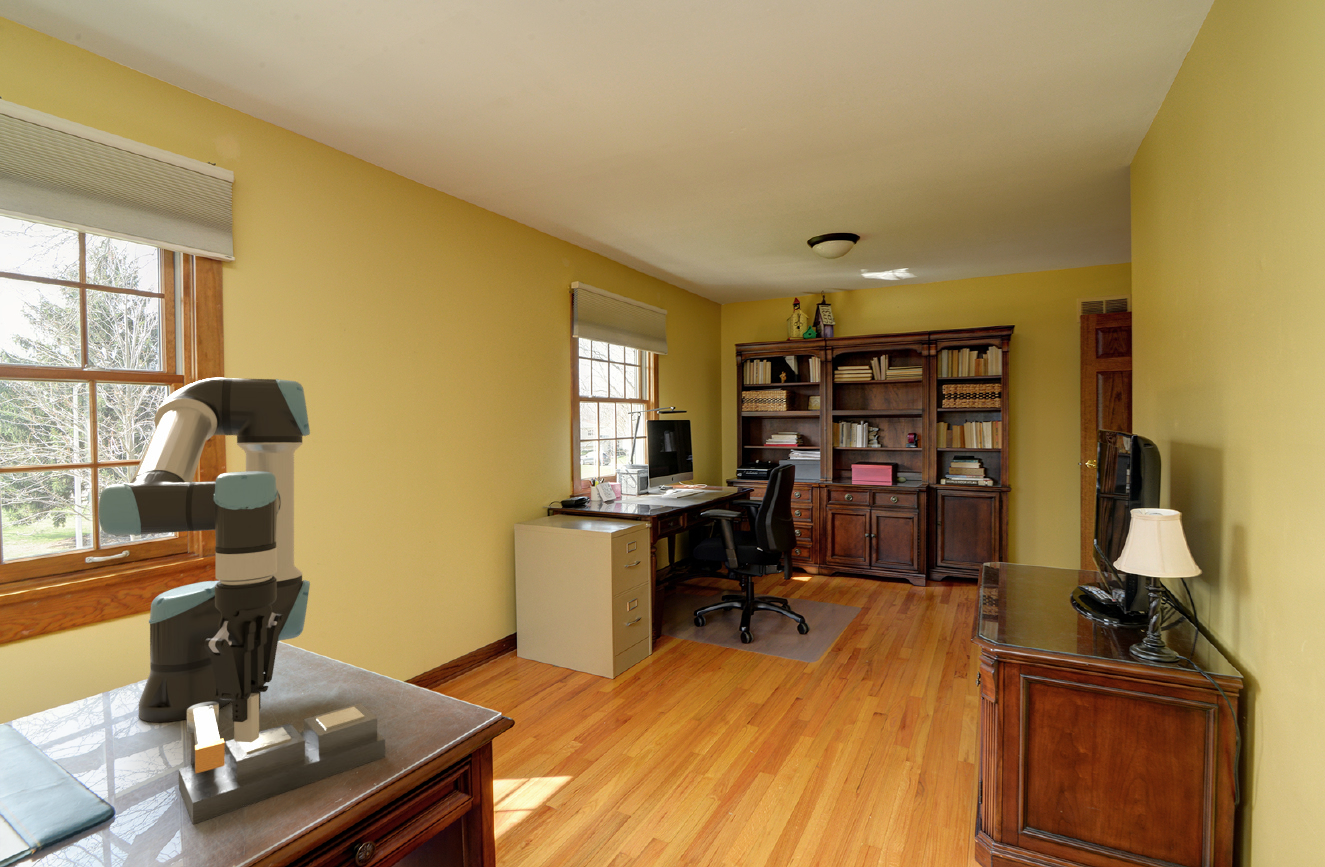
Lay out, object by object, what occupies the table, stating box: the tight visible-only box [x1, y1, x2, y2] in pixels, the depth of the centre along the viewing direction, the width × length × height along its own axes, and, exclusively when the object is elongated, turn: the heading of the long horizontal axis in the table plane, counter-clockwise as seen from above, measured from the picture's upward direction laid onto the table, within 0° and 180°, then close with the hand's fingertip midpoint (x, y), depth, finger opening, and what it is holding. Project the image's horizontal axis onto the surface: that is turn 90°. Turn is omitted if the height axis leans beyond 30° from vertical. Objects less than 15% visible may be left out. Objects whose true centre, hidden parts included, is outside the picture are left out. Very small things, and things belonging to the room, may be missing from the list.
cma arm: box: [186, 702, 225, 773], centre depth 93 cm, size 18×4×3 cm, turn 39°
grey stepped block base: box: [178, 702, 386, 825], centre depth 102 cm, size 14×26×8 cm, turn 135°
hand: (246, 739), depth 93 cm, fingers closed
